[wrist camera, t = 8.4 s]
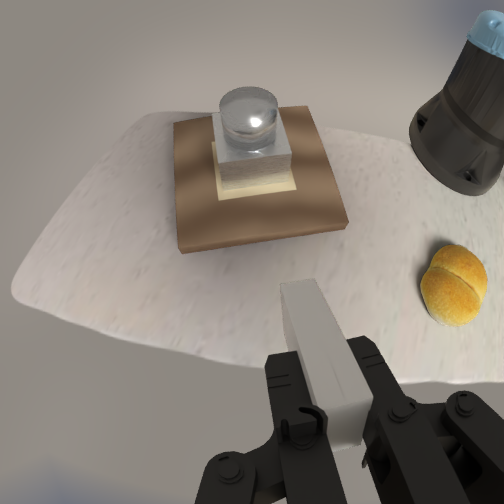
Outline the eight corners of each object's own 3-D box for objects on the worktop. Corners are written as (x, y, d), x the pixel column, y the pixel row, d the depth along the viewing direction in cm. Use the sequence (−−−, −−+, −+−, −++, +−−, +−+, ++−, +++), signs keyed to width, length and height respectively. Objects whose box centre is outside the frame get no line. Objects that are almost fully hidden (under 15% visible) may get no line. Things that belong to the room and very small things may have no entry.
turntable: (344, 229, 30) (348, 222, 29) (182, 254, 29) (178, 247, 28) (305, 114, 36) (307, 105, 34) (176, 131, 35) (173, 122, 34)
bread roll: (406, 301, 29) (424, 291, 25) (439, 239, 31) (456, 225, 28) (458, 344, 27) (479, 339, 23) (485, 281, 29) (505, 270, 26)
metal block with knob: (288, 181, 30) (295, 125, 23) (223, 191, 30) (213, 136, 22) (275, 134, 32) (278, 78, 25) (216, 142, 32) (207, 86, 25)
